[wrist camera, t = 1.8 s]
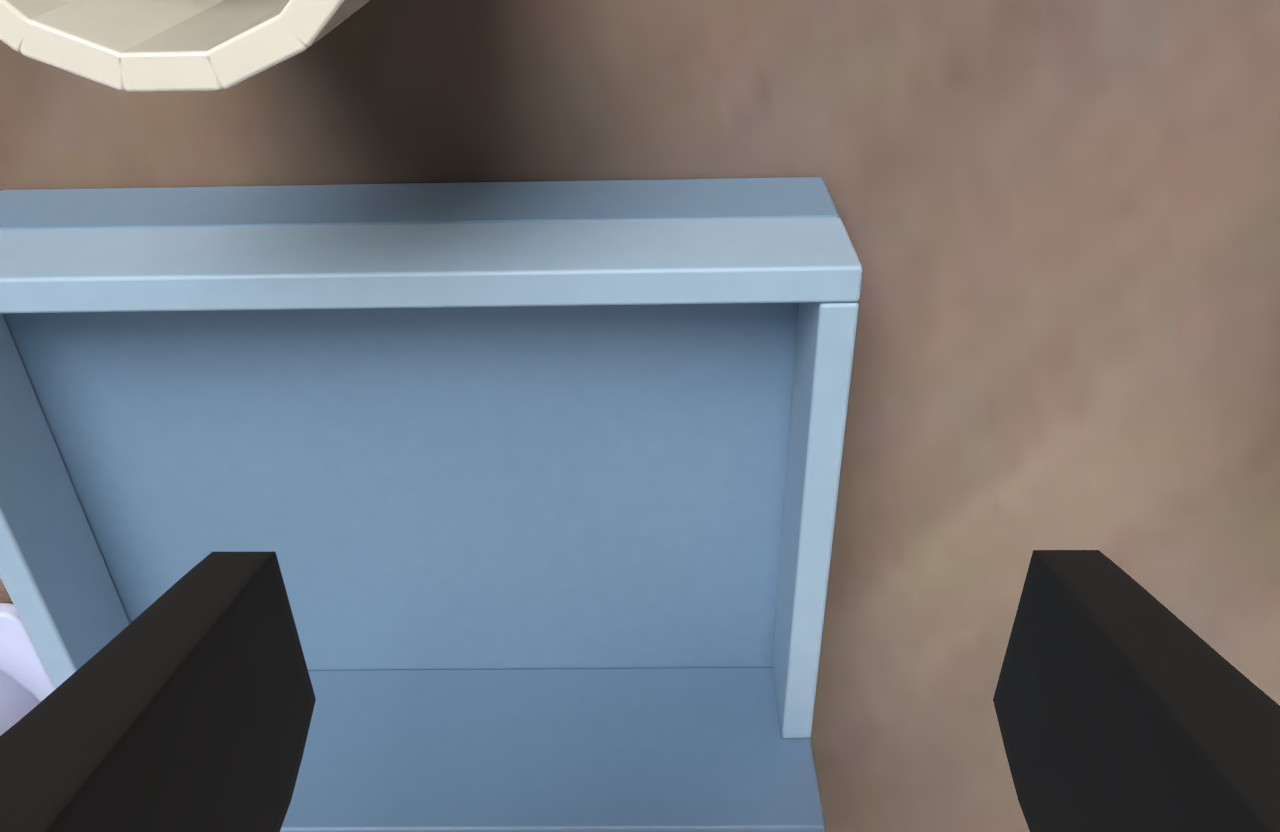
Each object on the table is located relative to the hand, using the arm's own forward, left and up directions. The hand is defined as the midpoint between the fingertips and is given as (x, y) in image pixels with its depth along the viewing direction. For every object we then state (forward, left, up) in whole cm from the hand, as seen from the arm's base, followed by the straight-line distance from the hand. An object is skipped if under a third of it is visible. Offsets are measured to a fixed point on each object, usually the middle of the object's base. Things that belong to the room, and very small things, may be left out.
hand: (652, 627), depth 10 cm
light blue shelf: (-4, -4, -10) cm, 12 cm away
